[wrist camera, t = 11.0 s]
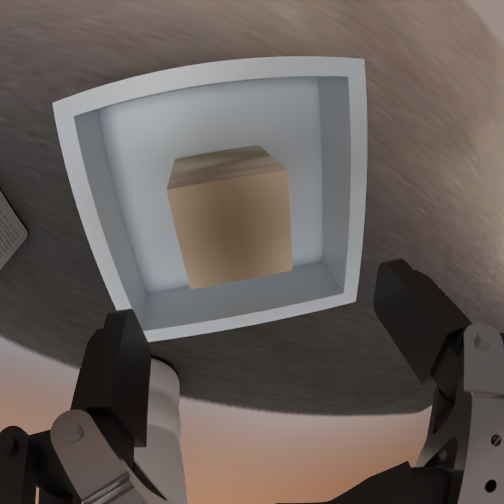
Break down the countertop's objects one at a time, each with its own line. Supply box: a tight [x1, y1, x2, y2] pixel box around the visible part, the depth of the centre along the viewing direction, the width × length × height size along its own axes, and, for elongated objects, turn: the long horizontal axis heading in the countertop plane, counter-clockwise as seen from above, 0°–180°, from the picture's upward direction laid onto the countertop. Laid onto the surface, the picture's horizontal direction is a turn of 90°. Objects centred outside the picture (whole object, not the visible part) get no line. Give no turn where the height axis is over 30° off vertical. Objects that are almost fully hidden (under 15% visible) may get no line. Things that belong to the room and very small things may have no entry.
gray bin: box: [52, 56, 367, 342], centre depth 17 cm, size 15×15×5 cm
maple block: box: [167, 145, 293, 289], centre depth 16 cm, size 5×5×6 cm
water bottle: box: [134, 358, 187, 504], centre depth 16 cm, size 7×7×25 cm
